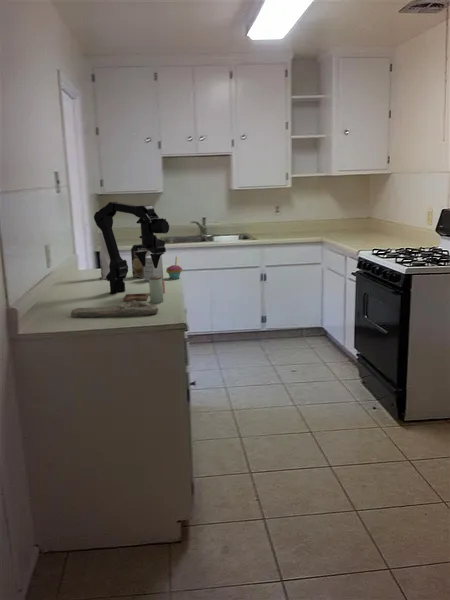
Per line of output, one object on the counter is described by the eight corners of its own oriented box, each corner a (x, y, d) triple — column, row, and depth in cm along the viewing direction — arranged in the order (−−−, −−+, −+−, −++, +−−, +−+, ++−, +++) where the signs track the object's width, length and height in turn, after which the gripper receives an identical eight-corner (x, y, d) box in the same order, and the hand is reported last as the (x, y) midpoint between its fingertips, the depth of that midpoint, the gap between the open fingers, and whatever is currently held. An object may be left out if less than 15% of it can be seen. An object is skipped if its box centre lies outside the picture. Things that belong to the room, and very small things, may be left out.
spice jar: (150, 303, 247) (148, 278, 244) (150, 301, 252) (149, 276, 250) (163, 303, 247) (161, 277, 245) (163, 300, 252) (162, 275, 250)
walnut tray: (123, 302, 250) (123, 298, 250) (126, 298, 260) (125, 294, 260) (146, 301, 251) (146, 297, 251) (148, 297, 261) (147, 293, 260)
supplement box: (154, 278, 309) (152, 255, 307) (163, 279, 305) (162, 255, 302) (144, 280, 304) (142, 256, 301) (153, 281, 299) (152, 257, 296)
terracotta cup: (151, 295, 264) (151, 282, 263) (152, 292, 270) (151, 280, 269) (164, 294, 265) (164, 281, 263) (165, 292, 270) (164, 279, 269)
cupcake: (175, 276, 313) (174, 254, 310) (185, 277, 307) (184, 255, 304) (163, 278, 307) (162, 256, 304) (173, 280, 301) (172, 257, 298)
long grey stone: (75, 316, 235) (69, 324, 225) (73, 304, 233) (67, 311, 224) (160, 309, 234) (157, 316, 224) (158, 297, 232) (155, 304, 223)
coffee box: (132, 277, 314) (130, 248, 311) (139, 275, 319) (137, 247, 316) (144, 278, 309) (142, 249, 306) (152, 276, 315) (150, 247, 311)
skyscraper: (98, 277, 316) (94, 227, 310) (113, 276, 319) (109, 226, 314) (101, 280, 309) (97, 228, 303) (116, 278, 312) (112, 227, 306)
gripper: (174, 232, 257) (176, 266, 260) (150, 230, 270) (152, 263, 274) (154, 234, 249) (156, 270, 253) (130, 233, 263) (132, 266, 266)
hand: (149, 267), depth 262 cm, fingers open, 9 cm apart
